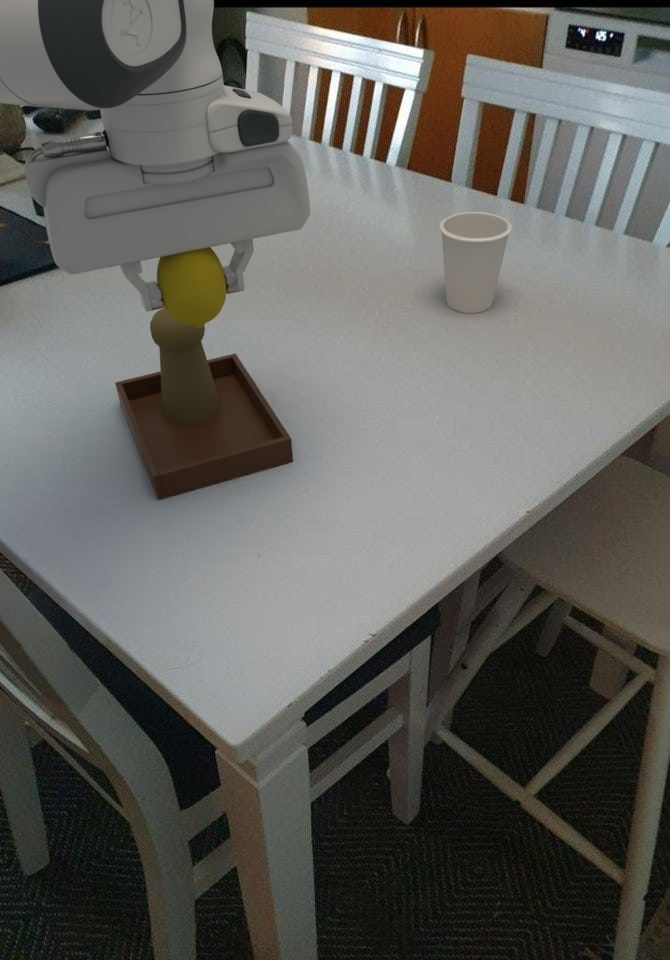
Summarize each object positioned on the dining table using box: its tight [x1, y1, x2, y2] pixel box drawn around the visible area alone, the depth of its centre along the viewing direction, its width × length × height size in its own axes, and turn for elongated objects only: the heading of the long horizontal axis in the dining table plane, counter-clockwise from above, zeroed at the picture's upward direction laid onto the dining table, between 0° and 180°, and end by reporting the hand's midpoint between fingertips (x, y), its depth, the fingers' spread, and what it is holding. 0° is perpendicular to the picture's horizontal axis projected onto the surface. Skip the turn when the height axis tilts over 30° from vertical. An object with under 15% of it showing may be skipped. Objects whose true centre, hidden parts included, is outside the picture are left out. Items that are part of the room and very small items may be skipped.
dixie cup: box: [439, 211, 513, 314], centre depth 98 cm, size 8×8×10 cm
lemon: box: [156, 247, 227, 328], centre depth 66 cm, size 6×6×8 cm
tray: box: [114, 353, 294, 501], centre depth 81 cm, size 13×17×3 cm
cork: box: [149, 307, 221, 424], centre depth 81 cm, size 6×6×11 cm
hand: (194, 298), depth 67 cm, fingers closed on lemon, 5 cm apart
